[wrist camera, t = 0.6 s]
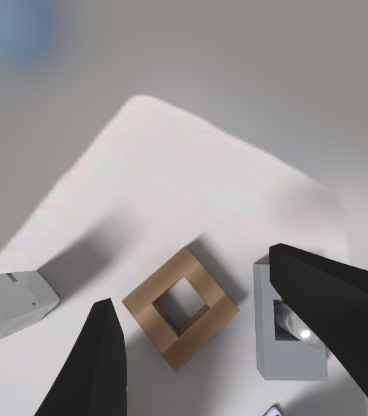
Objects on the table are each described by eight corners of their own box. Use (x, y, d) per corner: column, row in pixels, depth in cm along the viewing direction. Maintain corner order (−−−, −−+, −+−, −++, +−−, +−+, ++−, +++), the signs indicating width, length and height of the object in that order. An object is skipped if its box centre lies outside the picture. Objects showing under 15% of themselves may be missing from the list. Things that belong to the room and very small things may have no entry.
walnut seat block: (234, 305, 33) (239, 310, 30) (175, 361, 31) (175, 372, 28) (184, 246, 35) (185, 245, 32) (126, 297, 33) (121, 301, 30)
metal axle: (298, 315, 33) (335, 333, 25) (282, 331, 33) (316, 355, 25) (282, 297, 34) (314, 310, 26) (266, 313, 33) (295, 330, 25)
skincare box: (62, 299, 33) (-3, 324, 21) (36, 324, 32) (-46, 364, 20) (35, 268, 33) (-43, 274, 21) (9, 291, 33) (-87, 311, 21)
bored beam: (314, 369, 32) (328, 380, 29) (257, 368, 32) (265, 380, 29) (305, 265, 35) (317, 265, 32) (253, 263, 34) (260, 264, 31)
